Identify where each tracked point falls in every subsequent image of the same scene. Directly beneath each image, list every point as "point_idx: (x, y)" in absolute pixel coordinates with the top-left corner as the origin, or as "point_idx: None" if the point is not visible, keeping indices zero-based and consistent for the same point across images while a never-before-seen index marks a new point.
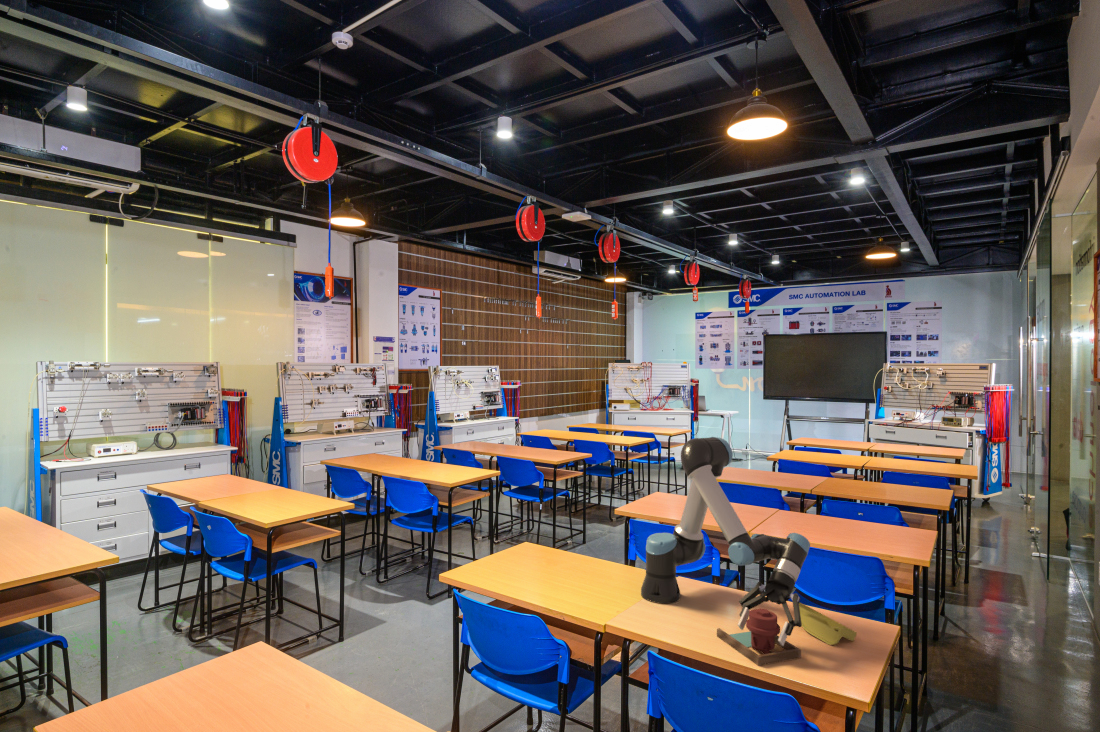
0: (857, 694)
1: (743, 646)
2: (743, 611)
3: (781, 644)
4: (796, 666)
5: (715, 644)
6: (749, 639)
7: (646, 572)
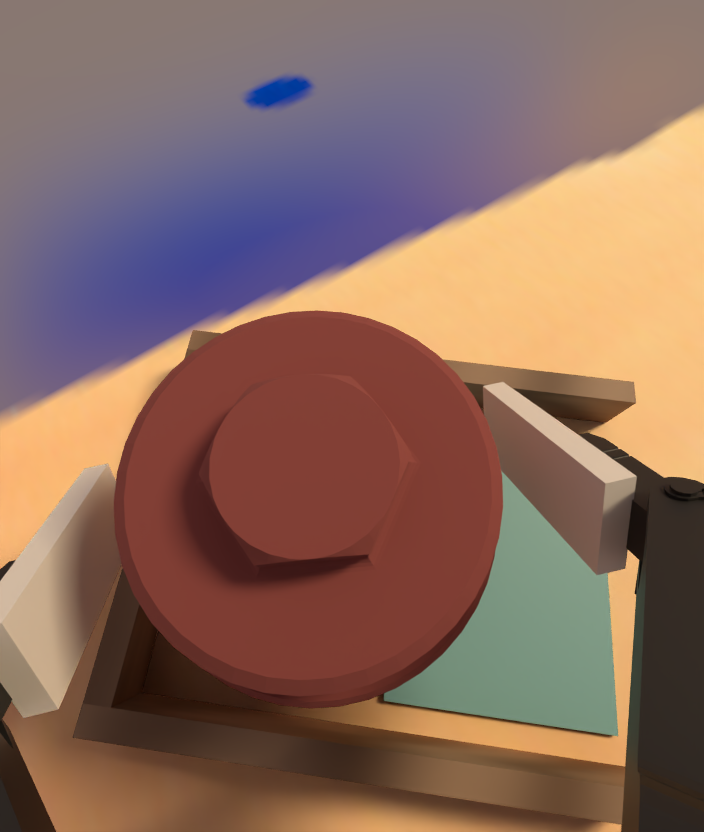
0: None
1: None
2: (587, 442)
3: None
4: None
5: (509, 324)
6: (492, 573)
7: None
